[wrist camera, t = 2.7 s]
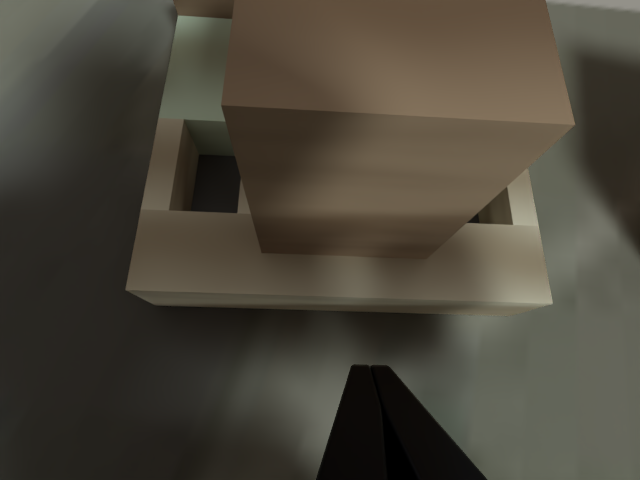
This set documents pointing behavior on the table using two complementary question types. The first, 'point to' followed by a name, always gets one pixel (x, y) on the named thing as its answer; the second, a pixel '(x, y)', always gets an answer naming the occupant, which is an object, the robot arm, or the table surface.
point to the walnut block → (386, 117)
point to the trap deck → (295, 269)
